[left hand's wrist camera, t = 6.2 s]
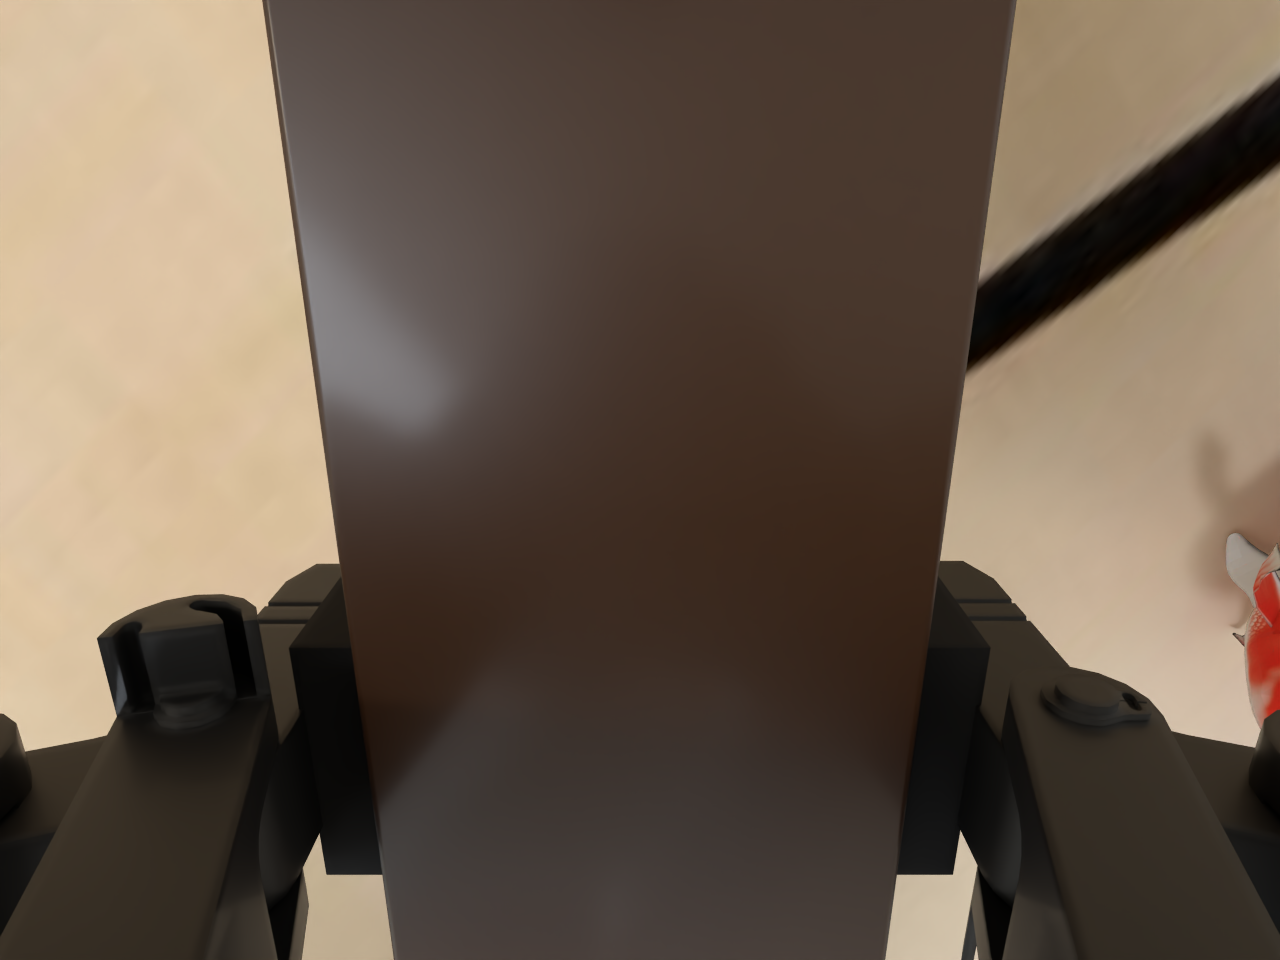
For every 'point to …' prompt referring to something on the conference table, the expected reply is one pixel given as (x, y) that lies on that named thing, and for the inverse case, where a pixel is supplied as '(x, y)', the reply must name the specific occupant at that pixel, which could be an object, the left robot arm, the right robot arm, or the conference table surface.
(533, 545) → the walnut beam
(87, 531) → the conference table surface
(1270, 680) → the fish
